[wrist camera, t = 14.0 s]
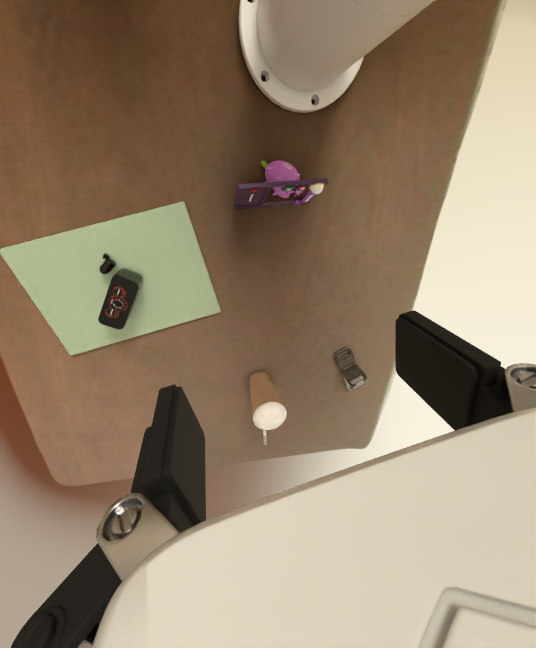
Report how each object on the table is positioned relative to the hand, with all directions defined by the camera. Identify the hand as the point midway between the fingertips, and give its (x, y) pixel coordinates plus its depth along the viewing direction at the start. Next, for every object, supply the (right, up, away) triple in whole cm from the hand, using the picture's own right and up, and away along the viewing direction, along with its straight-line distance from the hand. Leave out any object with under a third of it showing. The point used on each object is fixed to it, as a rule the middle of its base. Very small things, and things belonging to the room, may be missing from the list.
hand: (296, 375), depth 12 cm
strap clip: (+12, -5, +36) cm, 38 cm away
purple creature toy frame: (-1, +18, +21) cm, 28 cm away
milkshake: (-3, -7, +33) cm, 34 cm away
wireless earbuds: (-19, +7, +22) cm, 30 cm away
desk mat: (-19, +7, +22) cm, 30 cm away
